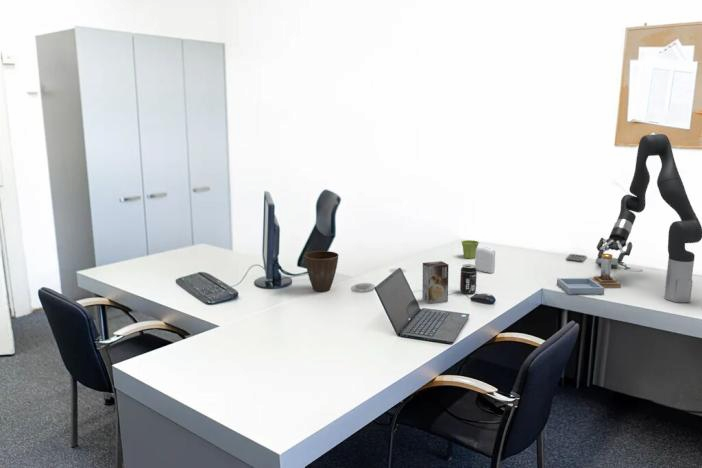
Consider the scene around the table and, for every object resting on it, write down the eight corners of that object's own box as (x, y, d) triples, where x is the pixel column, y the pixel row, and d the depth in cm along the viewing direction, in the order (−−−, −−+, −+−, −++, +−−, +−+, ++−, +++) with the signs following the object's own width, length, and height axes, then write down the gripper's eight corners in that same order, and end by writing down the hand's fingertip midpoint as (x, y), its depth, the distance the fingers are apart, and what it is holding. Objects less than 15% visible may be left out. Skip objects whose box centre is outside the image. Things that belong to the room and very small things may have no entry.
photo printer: (473, 269, 286) (474, 245, 284) (478, 268, 289) (479, 244, 286) (490, 274, 278) (491, 249, 276) (495, 272, 281) (497, 248, 278)
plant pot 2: (457, 256, 313) (458, 240, 311) (472, 254, 316) (473, 239, 314) (465, 260, 304) (466, 244, 303) (481, 259, 307) (482, 243, 305)
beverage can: (457, 290, 252) (457, 264, 250) (470, 289, 255) (471, 263, 252) (465, 295, 246) (466, 268, 244) (478, 293, 248) (480, 266, 246)
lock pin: (611, 281, 257) (614, 255, 255) (602, 281, 257) (604, 255, 255) (607, 279, 262) (609, 253, 259) (598, 279, 262) (600, 253, 259)
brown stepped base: (620, 287, 255) (621, 281, 255) (598, 288, 255) (598, 281, 255) (610, 281, 265) (611, 275, 264) (589, 281, 265) (589, 275, 264)
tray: (603, 294, 246) (604, 288, 245) (569, 294, 246) (569, 288, 245) (589, 284, 261) (590, 278, 260) (556, 284, 261) (557, 278, 260)
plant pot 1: (332, 283, 265) (331, 249, 262) (343, 292, 251) (343, 257, 248) (301, 286, 260) (300, 252, 256) (311, 296, 246) (310, 260, 243)
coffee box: (441, 297, 244) (442, 260, 241) (448, 301, 238) (449, 264, 235) (421, 299, 241) (422, 262, 238) (427, 304, 235) (428, 266, 232)
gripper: (603, 224, 268) (591, 252, 262) (635, 228, 258) (623, 257, 252) (607, 233, 272) (595, 261, 267) (638, 238, 262) (627, 267, 257)
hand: (609, 259), depth 260 cm, fingers open, 8 cm apart
